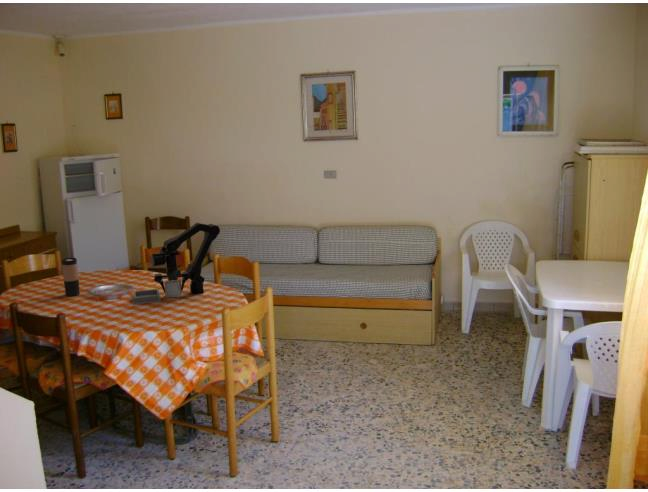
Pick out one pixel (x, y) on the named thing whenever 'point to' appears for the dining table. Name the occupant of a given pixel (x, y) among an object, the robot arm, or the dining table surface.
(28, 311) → the dining table surface
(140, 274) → the dining table surface
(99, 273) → the dining table surface
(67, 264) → the travel mug
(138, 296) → the caddy
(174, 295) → the medicine box
